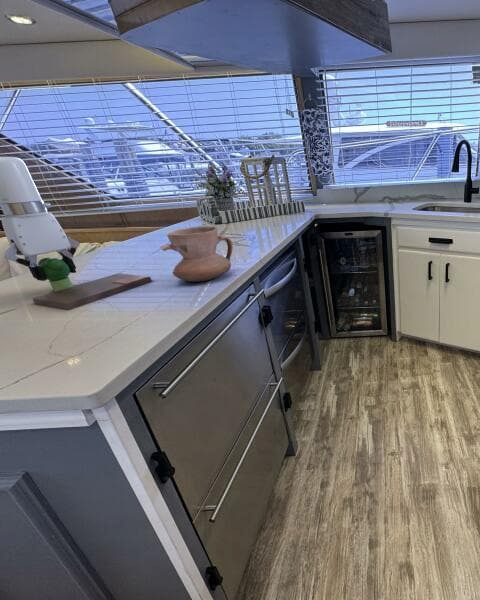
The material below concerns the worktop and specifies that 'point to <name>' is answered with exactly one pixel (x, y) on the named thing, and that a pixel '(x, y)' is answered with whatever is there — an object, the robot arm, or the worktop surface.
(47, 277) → the broccoli
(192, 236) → the ceramic jug
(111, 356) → the worktop surface
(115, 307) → the worktop surface
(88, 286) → the cutting board
